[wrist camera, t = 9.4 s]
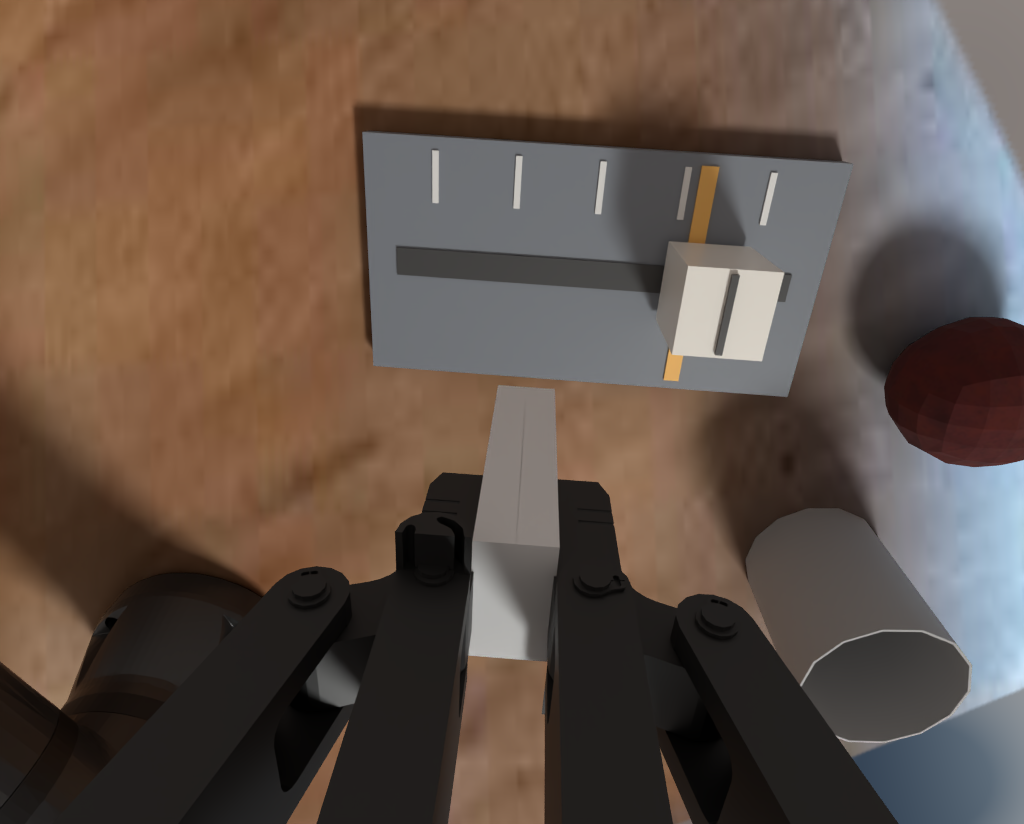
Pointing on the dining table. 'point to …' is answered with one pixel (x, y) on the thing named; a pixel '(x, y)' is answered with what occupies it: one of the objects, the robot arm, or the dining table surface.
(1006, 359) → the potato
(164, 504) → the dining table surface
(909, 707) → the cup
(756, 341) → the fader
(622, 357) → the console
